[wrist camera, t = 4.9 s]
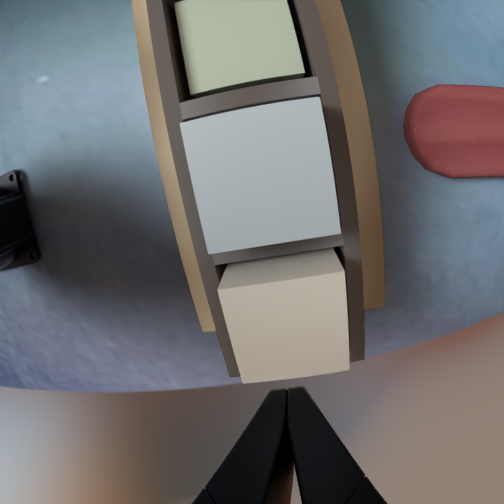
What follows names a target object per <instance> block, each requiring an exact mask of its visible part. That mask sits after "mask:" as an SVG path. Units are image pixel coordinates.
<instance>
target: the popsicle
mask: <svg viewBox="0 0 504 504" xmlns="http://www.w3.org/2000/svg"><path fill="white" fill-rule="evenodd" d="M403 126H404V133H405V140H406V142H407V144H408V146H409V148H410V151H411V153H412V155H413V156H414V157H415V158H416V160H417V161H418V162H419V163H420V164H421V165H422V166H423V167H424V168H425V169H427V170H429V171H432V172H435V173H437V174H440V175H443V176H446V177H449V178H463V177H504V88H501V87H491V86H476V85H446V84H439V85H436V86H432V87H430V88H428V89H426V90H424V91H421V92H419V93H417V94H415V96H414V97H413V99H412V100H411V102H410V104H409V105H408V107H407V108H406V112H405V119H404V124H403Z"/></svg>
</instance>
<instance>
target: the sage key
mask: <svg viewBox="0 0 504 504" xmlns="http://www.w3.org/2000/svg"><path fill="white" fill-rule="evenodd" d="M174 6H175V12H176V18H177V24H178V29H179V35H180V41H181V46H182V52H183V57H184V63H185V68H186V74H187V79H188V84H189V90H190V95H192V96H194V97H195V98H201V97H205V96H209V95H213V94H217V93H222V92H226V91H231V90H236V89H241V88H246V87H251V86H256V85H262V84H268V83H274V82H280V81H287V80H294V79H301V78H303V76H304V74H305V71H304V66H303V62H302V58H301V53H300V49H299V45H298V41H297V37H296V33H295V29H294V25H293V22H292V18H291V14H290V10H289V7H288V3H287V0H184V1H180V2H177V3H174Z"/></svg>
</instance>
